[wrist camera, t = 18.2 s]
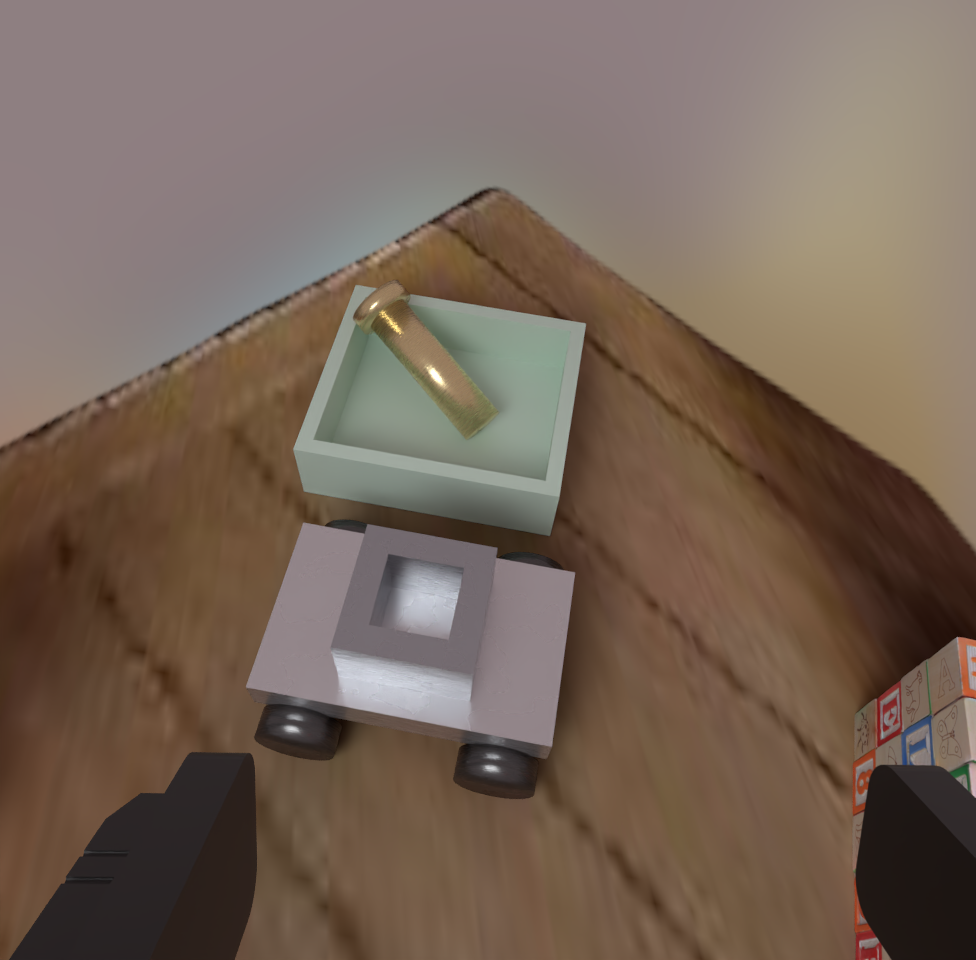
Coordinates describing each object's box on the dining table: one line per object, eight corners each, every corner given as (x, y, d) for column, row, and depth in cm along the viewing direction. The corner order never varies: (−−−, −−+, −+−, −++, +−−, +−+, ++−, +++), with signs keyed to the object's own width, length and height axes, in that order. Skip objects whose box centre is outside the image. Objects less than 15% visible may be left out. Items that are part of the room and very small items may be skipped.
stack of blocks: (988, 1192, 38) (1196, 1261, 27) (850, 1151, 38) (1003, 1202, 28) (957, 737, 49) (1094, 664, 39) (851, 710, 50) (959, 631, 39)
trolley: (257, 749, 46) (217, 691, 38) (323, 547, 54) (302, 461, 45) (535, 804, 46) (557, 758, 37) (564, 592, 53) (589, 513, 44)
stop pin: (450, 453, 56) (343, 328, 57) (482, 431, 60) (381, 312, 60) (483, 419, 54) (371, 288, 54) (515, 398, 57) (409, 274, 57)
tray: (303, 491, 56) (293, 449, 52) (361, 332, 64) (355, 284, 60) (549, 536, 55) (559, 496, 51) (576, 369, 63) (586, 323, 59)
